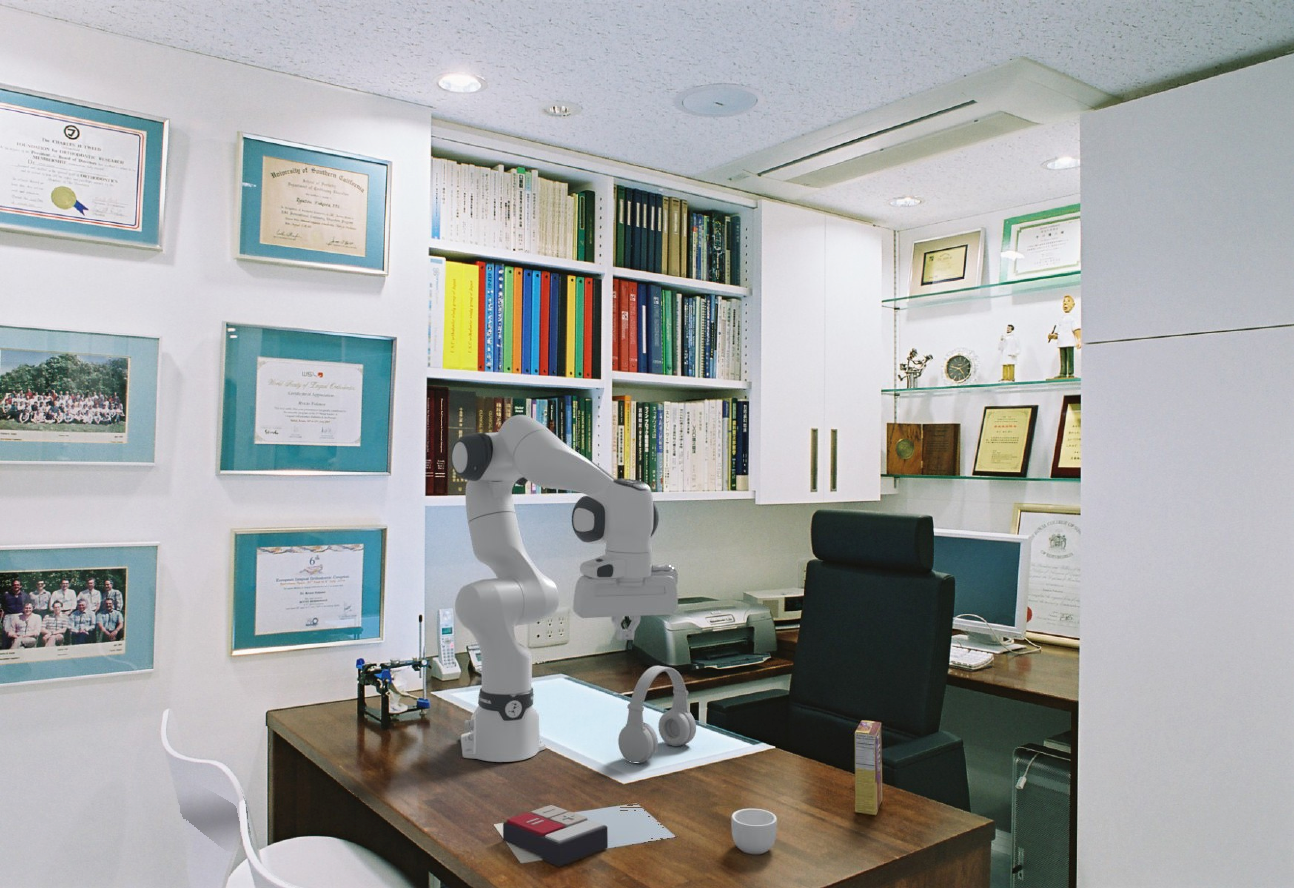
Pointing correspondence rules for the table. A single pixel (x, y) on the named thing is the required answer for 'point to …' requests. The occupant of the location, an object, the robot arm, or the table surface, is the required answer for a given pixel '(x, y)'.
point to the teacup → (754, 830)
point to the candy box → (868, 767)
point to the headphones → (673, 725)
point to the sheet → (611, 829)
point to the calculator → (556, 834)
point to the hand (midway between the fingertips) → (625, 639)
